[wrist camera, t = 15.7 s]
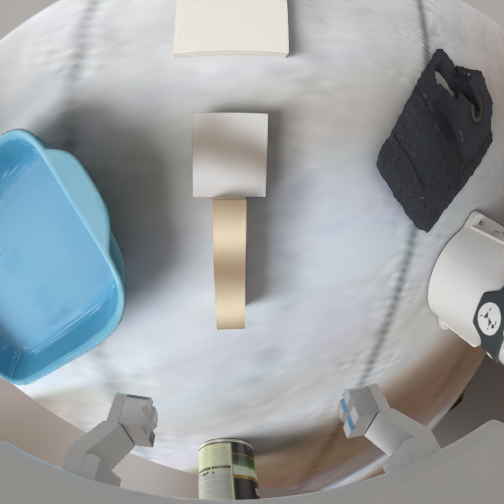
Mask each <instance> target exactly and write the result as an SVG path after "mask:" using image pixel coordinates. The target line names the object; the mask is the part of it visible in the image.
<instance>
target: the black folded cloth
mask: <svg viewBox="0 0 504 504" xmlns="http://www.w3.org/2000/svg"><path fill="white" fill-rule="evenodd" d="M455 69H456V70H455ZM435 71H437V72H439V73H440V74H441V75H442V77H443V78H444V79H445V80H446V82H447V84H448V86H449V88H450V89H451V90H452V91H453V92H454V95H455V97H456V98H454V97H451V96H450V94H449V93H448V90H447V89H445V88H443V86H442V85H441V84H437V83H436V78H435ZM492 105H493V103H492V99H491V97H490V94H489V92H488V89H487V86H486V83H485V78H484V77H483V75H482V72H481V71H478V70H471V69H467V68H464V67H459V66H456V67H454V64H453V62H452V60H451V59H450V58H449V57H448V55H447V54H446V53H445V52H444V51H443V49H436V52H435V53H434V54H433V56H432V59H431V60H430V62H429V64H428V65H427V67H426V68H425V70H424V71H423V73H422V74H421V77H420V78H419V79H418V81H417V85H416V86H415V88H414V90H413V92H412V95H411V97H410V98H409V99H408V101H407V103H406V104H405V106H404V109H403V113H402V114H401V115H400V116H399V118H398V121H397V123H396V125H395V127H394V128H393V130H392V133H391V135H390V137H389V138H388V139H387V140H386V141H385V143H384V144H383V146H382V148H381V150H380V153H379V156H378V158H377V167H378V169H379V171H380V174H381V176H382V177H383V179H384V180H385V181H386V182H387V184H388V185H389V187H390V189H391V190H392V192H393V195H394V197H395V198H396V199H397V201H398V202H399V203H400V204H401V205H402V206H403V208H404V210H405V213H406V214H407V215H408V217H409V218H410V219H411V220H413V221H414V223H415V225H416V227H418V228H419V229H421V230H424V231H426V233H428V232H429V231H430V230H431V228H432V227H433V225H434V224H435V223H436V222H437V221H438V219H439V217H440V216H441V214H442V213H443V211H444V210H445V209H446V208H447V207H448V206H449V204H450V203H451V202H452V200H453V199H454V197H455V196H456V195H457V194H458V193H459V191H460V190H461V189H462V188H463V187H464V185H465V184H466V182H467V181H468V179H469V177H470V176H471V175H473V173H474V171H475V169H476V168H477V166H478V165H479V164H480V162H481V160H482V157H484V155H485V154H486V152H487V149H488V148H489V145H490V144H491V143H492V141H493V140H492V132H491V116H492Z"/></svg>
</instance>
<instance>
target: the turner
mask: <svg viewBox="0 0 504 504" xmlns="http://www.w3.org/2000/svg"><path fill="white" fill-rule="evenodd" d="M267 135H268V114H261V113H193V197H213V244H214V275H215V298H216V318H217V329H245V270H246V209H247V200H246V198H245V197H266V170H267Z"/></svg>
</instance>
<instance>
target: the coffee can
mask: <svg viewBox="0 0 504 504" xmlns="http://www.w3.org/2000/svg"><path fill="white" fill-rule="evenodd" d="M253 451H254V448H253V446H252V445H251V444H250V443H248V442H246V441H243V440H239V439H231V438H221V439H214V440H209V441H207V442H204V443H202V444H201V445H200V447H199V499H207V500H250V499H260V496H259V489H258V482H257V474H256V467H255V459H254V452H253Z"/></svg>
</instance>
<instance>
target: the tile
mask: <svg viewBox="0 0 504 504" xmlns="http://www.w3.org/2000/svg"><path fill="white" fill-rule="evenodd" d="M172 54H173V56H174V57H175V59H177V58H187V57H202V56H266V57H280V58H286V56H287V55H288V54H289V38H288V11H287V0H177V8H176V17H175V27H174V39H173V53H172Z"/></svg>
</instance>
